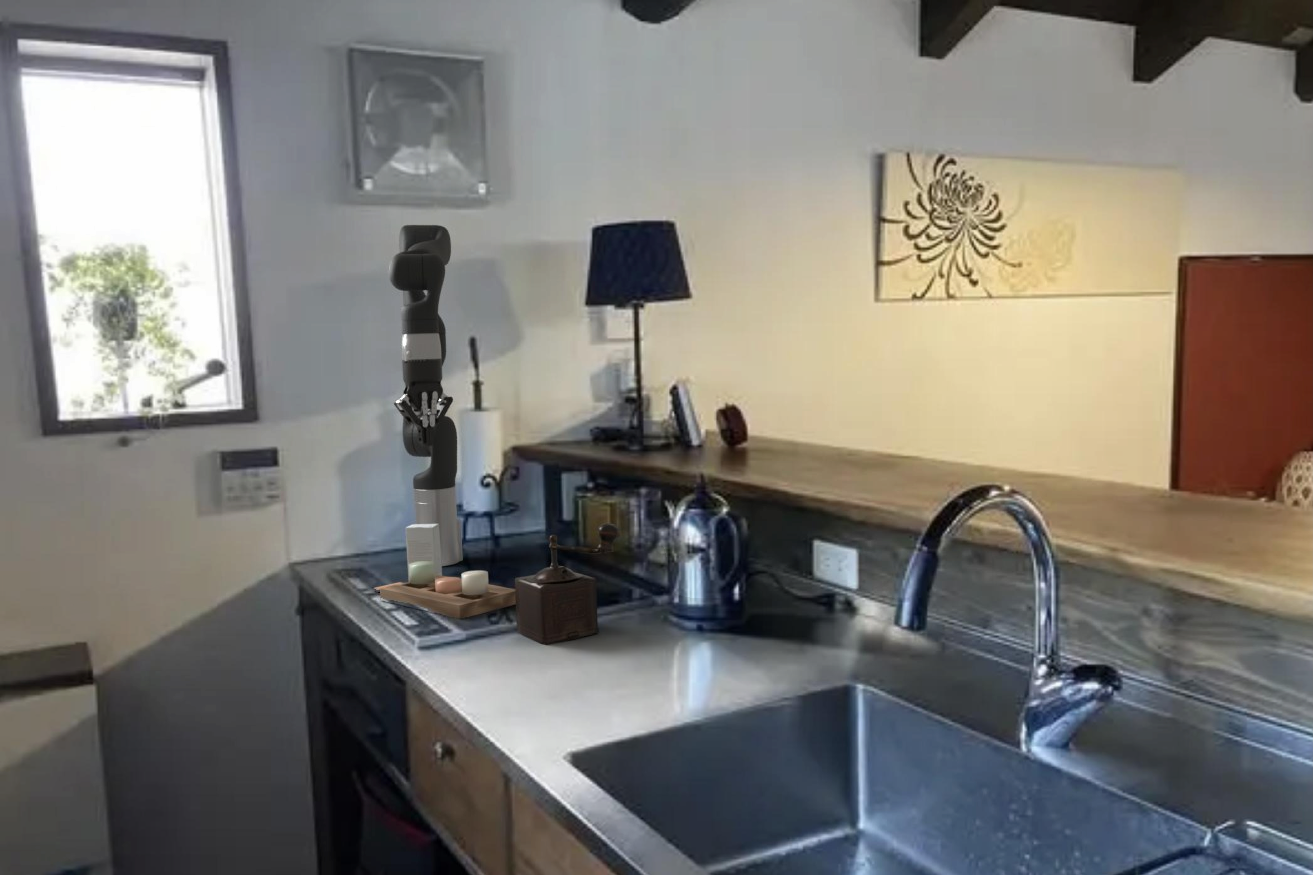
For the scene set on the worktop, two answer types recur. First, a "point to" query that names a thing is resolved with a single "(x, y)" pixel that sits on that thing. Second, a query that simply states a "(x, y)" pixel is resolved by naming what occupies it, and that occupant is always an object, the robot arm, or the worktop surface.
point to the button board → (450, 598)
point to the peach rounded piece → (448, 585)
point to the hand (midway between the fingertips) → (426, 445)
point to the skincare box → (424, 545)
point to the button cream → (475, 582)
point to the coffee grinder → (560, 596)
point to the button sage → (422, 572)
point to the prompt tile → (387, 585)
